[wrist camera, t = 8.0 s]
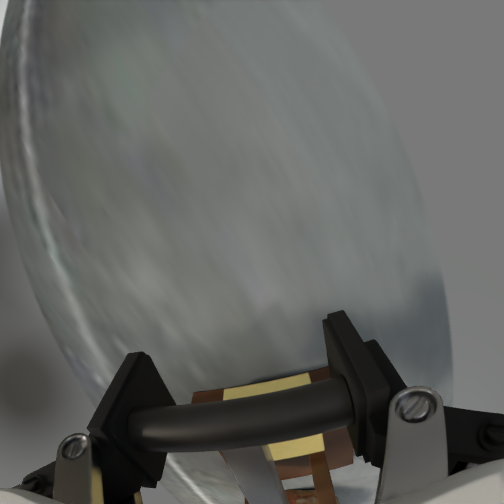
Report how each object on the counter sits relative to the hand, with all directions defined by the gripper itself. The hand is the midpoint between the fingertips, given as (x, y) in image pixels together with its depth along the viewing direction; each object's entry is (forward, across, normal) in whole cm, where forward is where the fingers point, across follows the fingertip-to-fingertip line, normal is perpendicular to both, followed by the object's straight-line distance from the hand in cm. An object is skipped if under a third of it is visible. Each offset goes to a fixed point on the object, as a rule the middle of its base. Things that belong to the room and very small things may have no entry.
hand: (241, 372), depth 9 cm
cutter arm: (-3, 0, +6) cm, 7 cm away
